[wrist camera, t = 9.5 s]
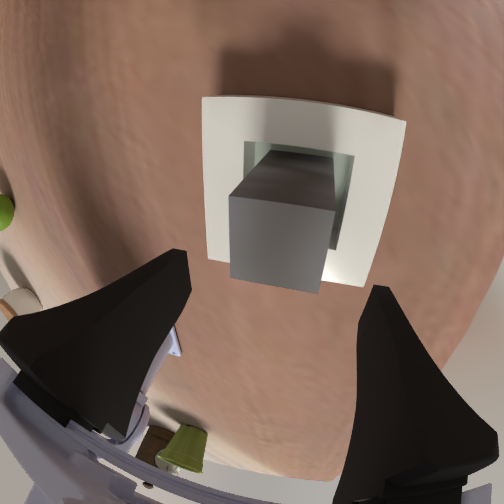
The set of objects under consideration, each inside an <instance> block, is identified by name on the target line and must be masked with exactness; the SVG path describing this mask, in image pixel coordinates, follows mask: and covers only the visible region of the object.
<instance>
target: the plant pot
mask: <svg viewBox="0 0 504 504" xmlns="http://www.w3.org/2000/svg"><path fill="white" fill-rule="evenodd" d="M206 441H207V434H205V432H203V431H202V430H200V429H197V428H196V427H192V426H187V425H185V424H183V425H181V426H180V427H179V429H178V430H177V432H176V433H175V435H174V436H173V438H172V439H171V441H170V442H169V444H168V445H167V447H166V448H165V449H164V450H163V451H162V452H161V454H160V455H157V457H159V458H160V459H162V460H164V461H166V462H169V463H171V464H173V465H175V466H178V467H181V468H183V469H186V470H189V471H192V472H195V473H199V474H203V472H202V467H203V457H204V452H205V446H206Z"/></svg>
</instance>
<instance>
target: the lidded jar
mask: <svg viewBox="0 0 504 504" xmlns="http://www.w3.org/2000/svg"><path fill="white" fill-rule="evenodd" d="M0 309H1V311H2V313H3V314H4V316H5V317H6V319H7V320H8V321H10V320H11V318H13V317H14V316H20V315H25V314H30V313H35V312H39V311H42V309H43V308H42V305H41V303H40V302H39V300H38V299H37V297H36V296H35V295H34V294H33V293H32V292H31V291H30V290H29V289H28V288H25V289H23V288H16V289H13V290H12V291H10V292H9V293H8V294H6V295H5V296H4V297H3V298H2V299H0Z"/></svg>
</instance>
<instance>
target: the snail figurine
mask: <svg viewBox="0 0 504 504" xmlns="http://www.w3.org/2000/svg"><path fill="white" fill-rule="evenodd" d="M13 216H14V206H13V203H12V201H11V200H10V198H9V197H7V196H6V195H3V194H0V231H1V230H4V229H6V228H7V227H8V226H9V225H10V223H11V222H12V220H13Z"/></svg>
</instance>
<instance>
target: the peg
mask: <svg viewBox="0 0 504 504" xmlns="http://www.w3.org/2000/svg"><path fill="white" fill-rule="evenodd" d="M228 200H229V247H230V278H234V279H239V280H245V281H250V282H255V283H260V284H265V285H271V286H276V287H282V288H287V289H293V290H298V291H304V292H310V293H315V294H318V292H319V287H320V283H321V279H322V275H323V270H324V266H325V261H326V256H327V252H328V247H329V242H330V237H331V232H332V227H333V222H334V216H335V181H334V161H333V158H331V157H324V156H318V155H311V154H303V153H296V152H287V151H278V150H270V151H269V152H268V153H267V154H266V155H265V156H264V157H263V158H262V159H261V160H260V161H259V163H258V164H257V165H256V166H255V167H254V168H253V169H252V170H251V171H250V172H249V173H248V175H247V176H246V177H245V178H244V179H243V180H242V181H241V182H240V183H239V185H238V186H237V187H236V188H235V189H234V190H233V191H232V193H231V194H230V195H229V196H228Z"/></svg>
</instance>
